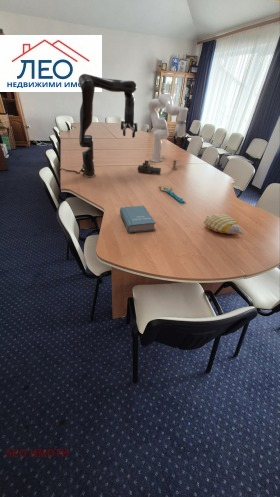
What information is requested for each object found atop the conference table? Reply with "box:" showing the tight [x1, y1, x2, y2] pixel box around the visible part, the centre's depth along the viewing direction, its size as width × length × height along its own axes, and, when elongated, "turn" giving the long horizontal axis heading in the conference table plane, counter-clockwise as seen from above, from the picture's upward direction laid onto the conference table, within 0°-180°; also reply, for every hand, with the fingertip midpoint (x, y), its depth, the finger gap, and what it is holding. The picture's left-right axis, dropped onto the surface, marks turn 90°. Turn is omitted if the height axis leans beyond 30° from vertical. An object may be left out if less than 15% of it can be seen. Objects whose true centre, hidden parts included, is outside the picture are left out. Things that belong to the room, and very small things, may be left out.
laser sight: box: [137, 160, 162, 175], centre depth 213 cm, size 10×22×10 cm, turn 78°
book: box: [119, 205, 156, 233], centre depth 136 cm, size 23×16×5 cm
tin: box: [172, 159, 179, 171], centre depth 230 cm, size 4×4×9 cm
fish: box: [203, 213, 245, 235], centre depth 133 cm, size 25×8×20 cm
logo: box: [158, 185, 186, 204], centre depth 176 cm, size 34×10×1 cm, turn 16°
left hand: (128, 136), depth 178 cm, fingers open, 8 cm apart
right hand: (178, 142), depth 217 cm, fingers open, 9 cm apart
